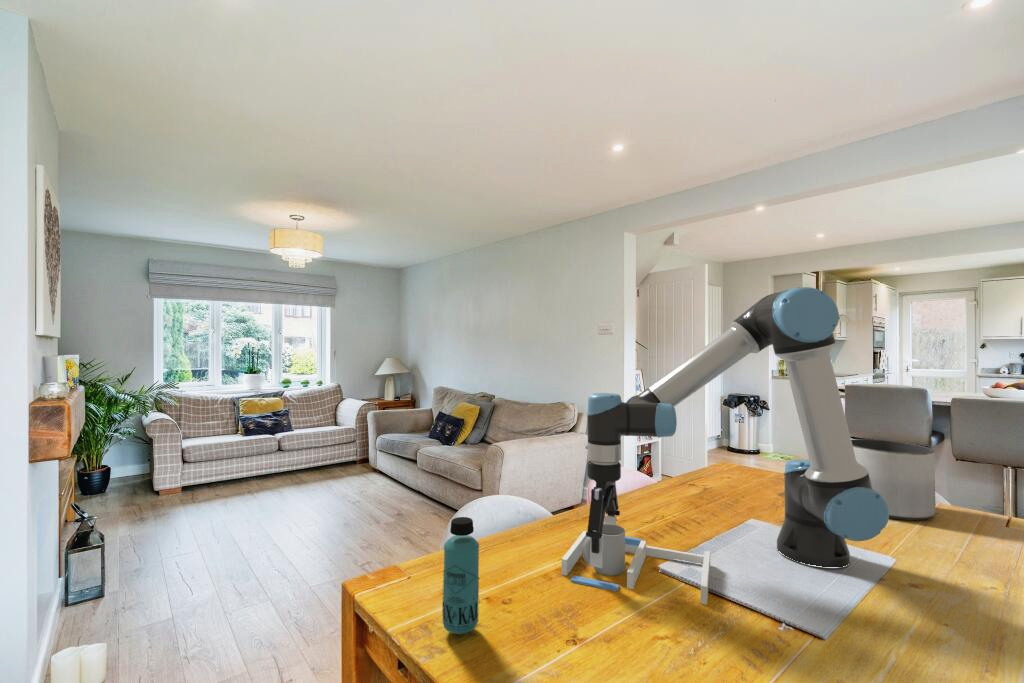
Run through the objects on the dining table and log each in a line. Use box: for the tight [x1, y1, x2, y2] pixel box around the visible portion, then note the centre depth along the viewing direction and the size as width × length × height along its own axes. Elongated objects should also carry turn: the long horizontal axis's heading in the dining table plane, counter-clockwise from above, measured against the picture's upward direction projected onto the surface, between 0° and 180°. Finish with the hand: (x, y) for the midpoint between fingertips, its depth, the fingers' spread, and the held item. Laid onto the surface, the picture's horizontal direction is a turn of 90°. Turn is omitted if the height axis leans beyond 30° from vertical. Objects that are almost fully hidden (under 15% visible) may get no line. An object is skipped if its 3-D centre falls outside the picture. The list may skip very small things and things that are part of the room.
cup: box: [582, 523, 626, 577], centre depth 110 cm, size 7×10×9 cm
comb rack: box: [561, 530, 711, 606], centre depth 109 cm, size 30×21×4 cm
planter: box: [851, 438, 937, 521], centre depth 152 cm, size 23×23×20 cm
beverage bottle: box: [441, 516, 480, 635], centre depth 86 cm, size 6×7×20 cm
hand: (603, 554), depth 111 cm, fingers open, 13 cm apart
